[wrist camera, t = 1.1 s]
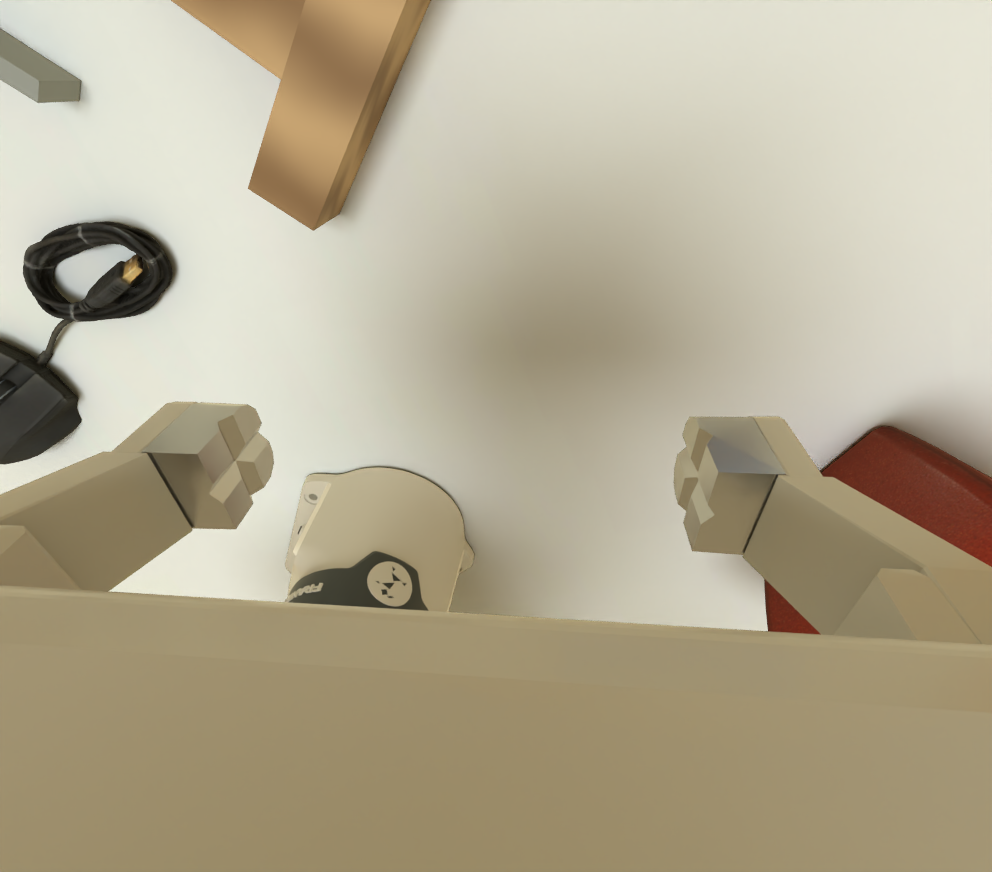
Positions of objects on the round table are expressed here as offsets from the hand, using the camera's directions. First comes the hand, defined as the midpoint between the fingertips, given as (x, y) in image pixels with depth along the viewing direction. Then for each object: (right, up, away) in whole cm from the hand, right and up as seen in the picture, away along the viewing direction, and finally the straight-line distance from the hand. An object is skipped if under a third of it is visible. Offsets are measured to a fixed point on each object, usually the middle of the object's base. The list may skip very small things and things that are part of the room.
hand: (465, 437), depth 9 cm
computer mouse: (-36, +7, +32) cm, 49 cm away
